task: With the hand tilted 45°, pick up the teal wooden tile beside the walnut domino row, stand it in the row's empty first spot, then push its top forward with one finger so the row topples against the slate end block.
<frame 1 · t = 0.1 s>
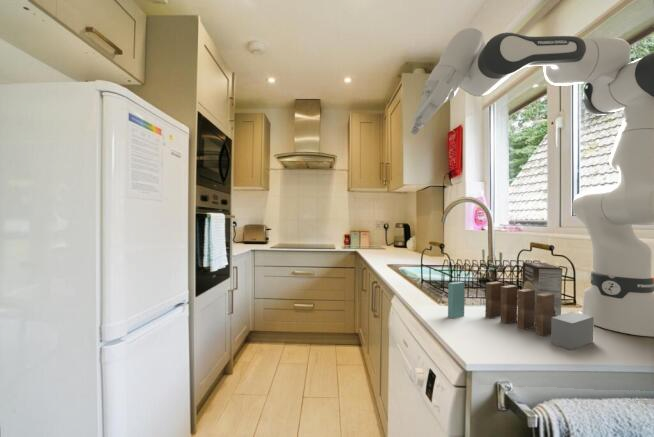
hand: (417, 128, 79), 54 cm above the countertop, tool tilted 30°, fingers open, 8 cm apart
domino 3: (508, 321, 80), on the countertop
domino 5: (544, 333, 72), on the countertop
domino 4: (525, 327, 76), on the countertop
end block: (572, 342, 66), on the countertop
domino 2: (493, 316, 84), on the countertop
coffee box: (540, 320, 81), on the countertop
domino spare: (456, 316, 83), on the countertop
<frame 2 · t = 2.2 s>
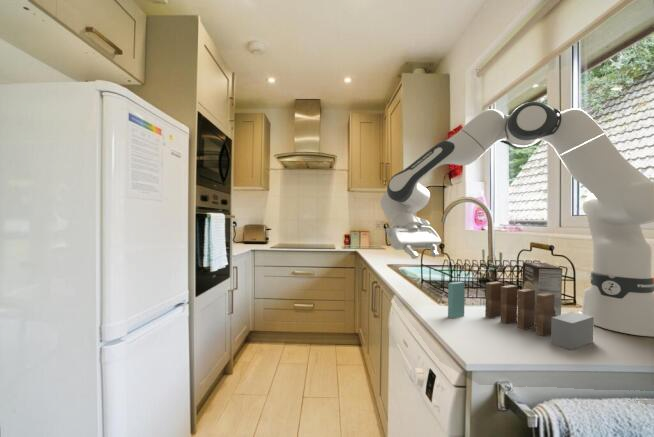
hand: (426, 257, 94), 16 cm above the countertop, tool tilted 45°, fingers open, 8 cm apart
nothing on the countertop moved.
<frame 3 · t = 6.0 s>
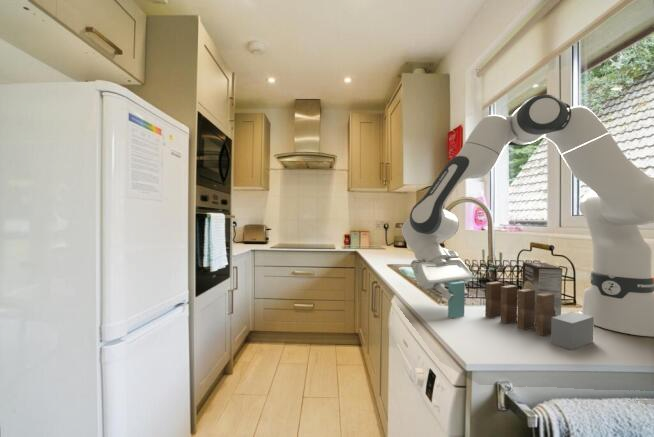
hand: (458, 297, 82), 6 cm above the countertop, tool tilted 45°, fingers closed on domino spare, 5 cm apart
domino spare: (456, 316, 83), on the countertop, touching gripper
everything else where it was.
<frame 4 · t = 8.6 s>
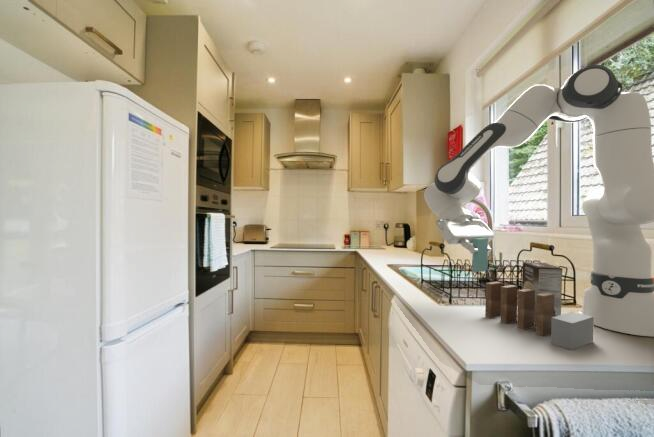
hand: (482, 252, 87), 19 cm above the countertop, tool tilted 45°, fingers closed on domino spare, 5 cm apart
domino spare: (479, 270, 88), point 13 cm above the countertop, touching gripper
everything else where it was.
when the fingers open (7 cm above the countertop, at t = 11.3 s): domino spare stays where it is, on the countertop.
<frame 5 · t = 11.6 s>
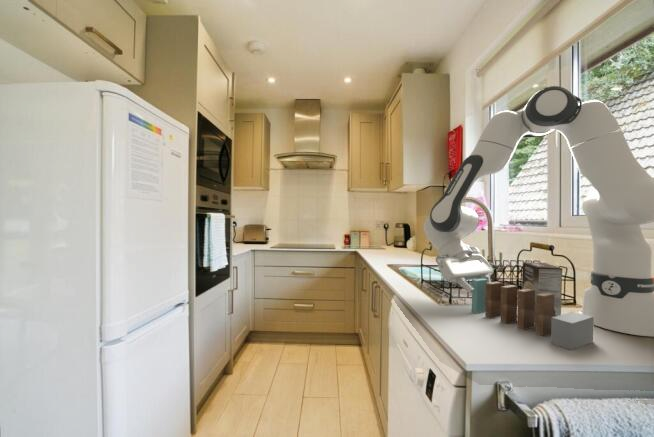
hand: (481, 290, 87), 7 cm above the countertop, tool tilted 45°, fingers open, 8 cm apart
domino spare: (479, 311, 88), on the countertop
everything else where it was.
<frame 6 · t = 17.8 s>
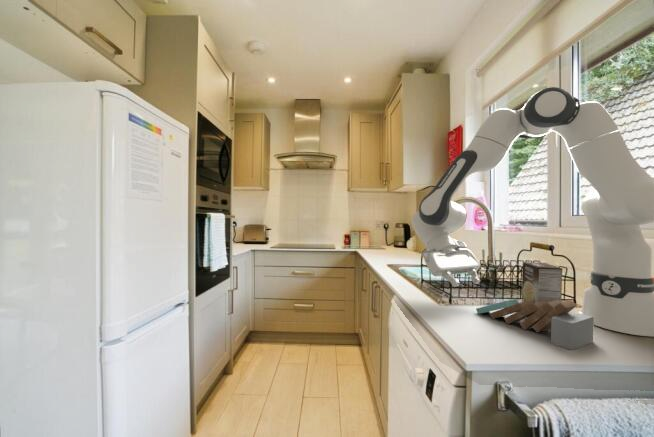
hand: (467, 284, 87), 9 cm above the countertop, tool tilted 45°, fingers open, 8 cm apart
domino 3: (511, 319, 79), point 1 cm above the countertop, tilted 50°, touching domino 2, domino 4
domino 5: (540, 328, 73), point 1 cm above the countertop, tilted 37°, touching domino 4, end block
domino 4: (527, 325, 75), point 1 cm above the countertop, tilted 40°, touching domino 3, domino 5
domino 2: (496, 314, 83), point 1 cm above the countertop, tilted 57°, touching domino 3, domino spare
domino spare: (482, 310, 87), point 1 cm above the countertop, tilted 62°, touching domino 2
everything else where it was.
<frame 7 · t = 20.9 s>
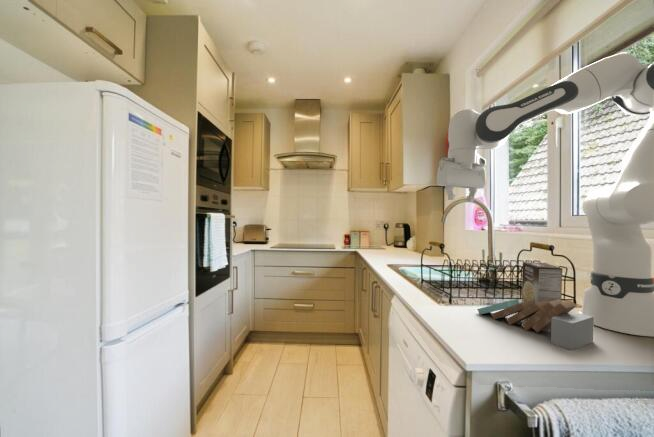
hand: (461, 200, 95), 35 cm above the countertop, tool pointing down, fingers open, 8 cm apart
at the end: domino 5 tilted 37°; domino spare tilted 61°; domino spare inside the target area (0.4 cm from its centre), point 0.7 cm above the countertop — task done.
